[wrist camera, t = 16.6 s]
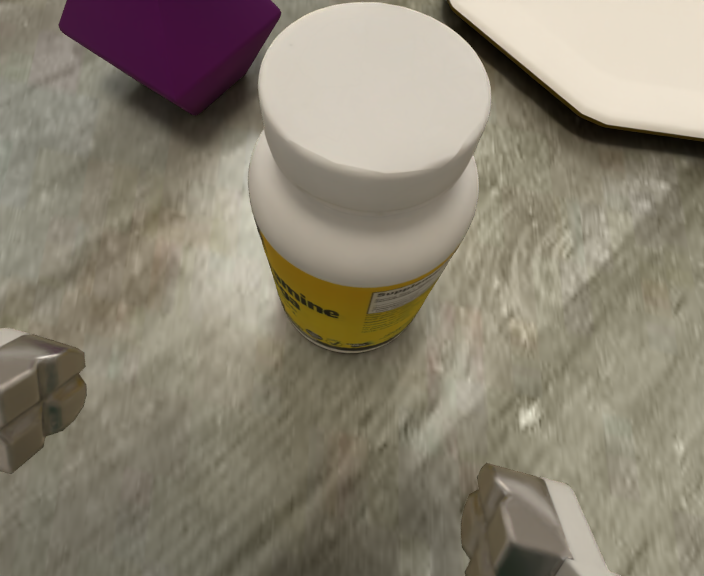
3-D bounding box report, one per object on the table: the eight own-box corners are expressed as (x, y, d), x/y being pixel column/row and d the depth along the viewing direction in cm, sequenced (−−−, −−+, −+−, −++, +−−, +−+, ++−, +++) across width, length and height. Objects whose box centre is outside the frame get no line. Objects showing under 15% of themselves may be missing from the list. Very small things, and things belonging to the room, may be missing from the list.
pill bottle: (256, 264, 18) (165, 26, 8) (372, 209, 20) (417, -52, 10) (322, 385, 16) (310, 269, 6) (446, 314, 18) (598, 126, 8)
